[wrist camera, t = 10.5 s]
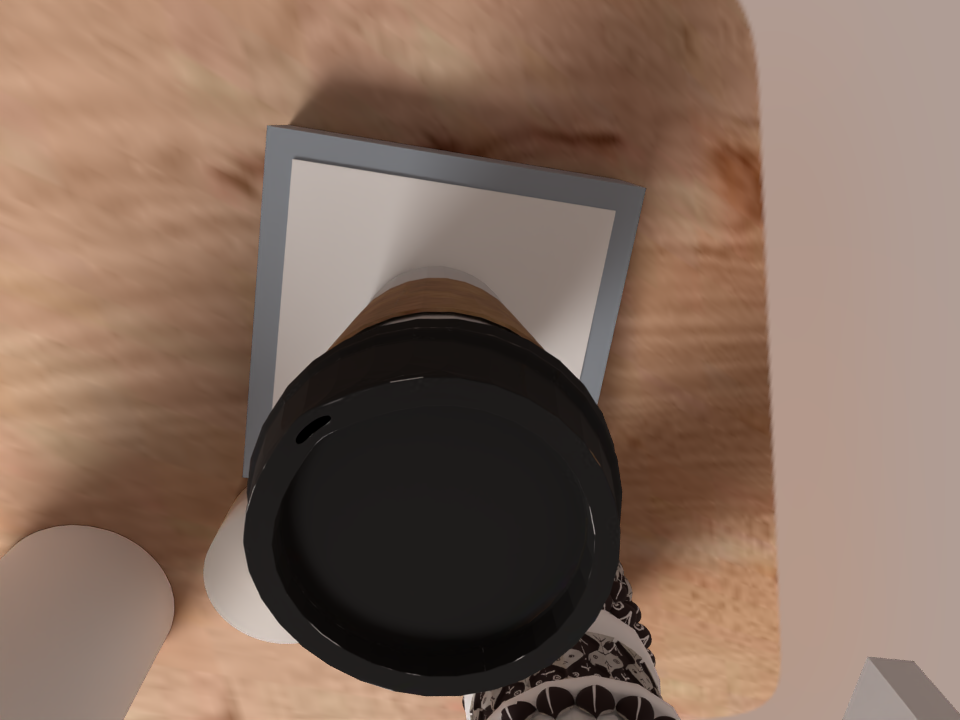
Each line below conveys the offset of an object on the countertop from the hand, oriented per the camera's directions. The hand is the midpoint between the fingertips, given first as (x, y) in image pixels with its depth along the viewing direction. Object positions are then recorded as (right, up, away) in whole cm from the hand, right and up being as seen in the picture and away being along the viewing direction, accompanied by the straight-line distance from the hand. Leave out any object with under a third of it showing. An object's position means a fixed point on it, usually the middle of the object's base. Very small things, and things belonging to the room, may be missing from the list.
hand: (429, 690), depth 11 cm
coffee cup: (-1, +6, +18) cm, 19 cm away
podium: (-1, +7, +22) cm, 23 cm away
